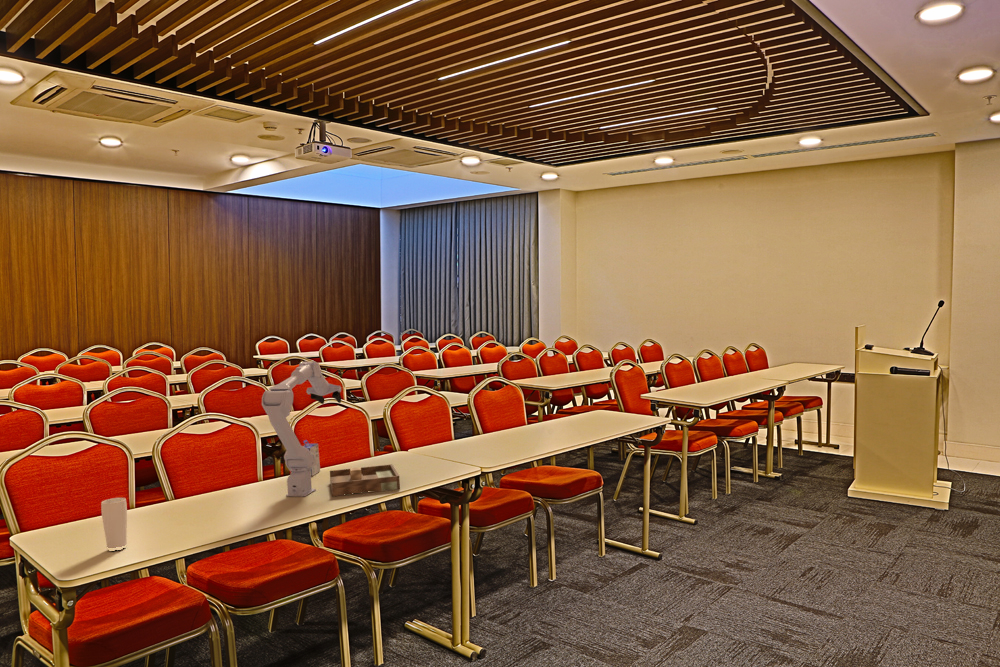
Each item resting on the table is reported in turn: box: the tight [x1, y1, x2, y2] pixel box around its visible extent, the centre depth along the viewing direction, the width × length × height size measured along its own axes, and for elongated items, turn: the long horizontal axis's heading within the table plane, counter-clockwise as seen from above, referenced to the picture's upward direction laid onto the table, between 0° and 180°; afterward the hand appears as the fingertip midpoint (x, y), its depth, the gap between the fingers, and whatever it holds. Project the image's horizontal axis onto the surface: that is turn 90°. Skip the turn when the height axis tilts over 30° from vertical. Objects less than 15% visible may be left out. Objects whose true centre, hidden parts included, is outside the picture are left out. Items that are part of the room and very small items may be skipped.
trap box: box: [329, 463, 401, 497], centre depth 283 cm, size 25×22×5 cm
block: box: [349, 467, 362, 481], centre depth 282 cm, size 4×4×4 cm
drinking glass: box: [100, 497, 128, 548], centre depth 219 cm, size 7×7×15 cm
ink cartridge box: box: [302, 439, 321, 477], centre depth 308 cm, size 10×6×14 cm, turn 174°
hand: (331, 401), depth 302 cm, fingers open, 7 cm apart
